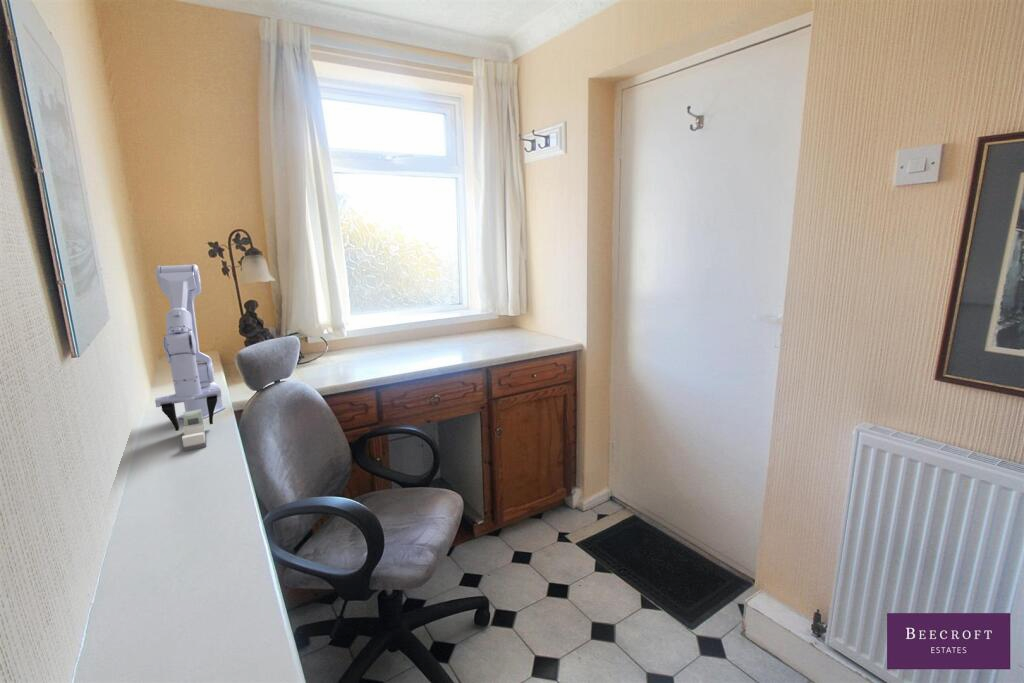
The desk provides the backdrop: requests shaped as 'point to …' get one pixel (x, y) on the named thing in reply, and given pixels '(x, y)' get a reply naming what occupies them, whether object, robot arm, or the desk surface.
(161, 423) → the desk surface
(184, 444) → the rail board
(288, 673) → the desk surface
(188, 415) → the sage module
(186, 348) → the robot arm
